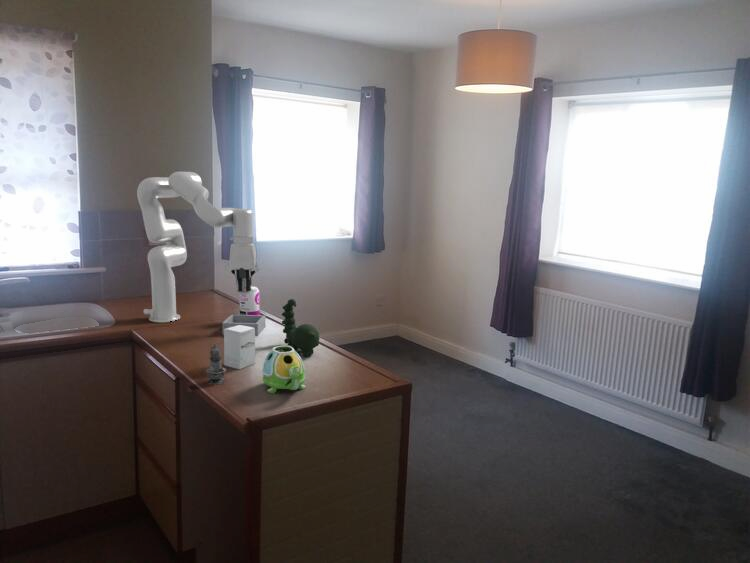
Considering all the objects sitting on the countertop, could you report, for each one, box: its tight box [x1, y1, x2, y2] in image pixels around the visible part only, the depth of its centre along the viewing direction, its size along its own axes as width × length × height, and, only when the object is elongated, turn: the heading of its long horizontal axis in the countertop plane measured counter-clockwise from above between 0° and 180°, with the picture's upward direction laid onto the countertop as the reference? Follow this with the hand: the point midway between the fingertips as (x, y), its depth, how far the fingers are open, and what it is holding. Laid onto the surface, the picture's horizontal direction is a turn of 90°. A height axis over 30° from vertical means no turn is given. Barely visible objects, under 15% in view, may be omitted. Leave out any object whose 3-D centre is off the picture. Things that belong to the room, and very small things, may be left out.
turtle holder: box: [262, 345, 306, 394], centre depth 171 cm, size 12×18×12 cm
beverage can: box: [235, 268, 252, 295], centre depth 230 cm, size 6×6×12 cm
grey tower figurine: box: [205, 343, 227, 385], centre depth 176 cm, size 6×6×12 cm
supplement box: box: [223, 325, 256, 370], centre depth 192 cm, size 7×7×13 cm
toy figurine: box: [281, 298, 321, 357], centre depth 208 cm, size 9×19×25 cm
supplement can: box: [239, 285, 260, 315], centre depth 247 cm, size 8×8×15 cm
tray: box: [221, 314, 267, 337], centre depth 234 cm, size 14×14×5 cm
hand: (243, 286), depth 231 cm, fingers closed on beverage can, 3 cm apart
